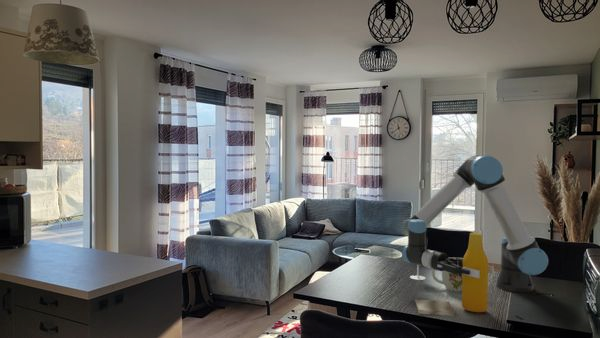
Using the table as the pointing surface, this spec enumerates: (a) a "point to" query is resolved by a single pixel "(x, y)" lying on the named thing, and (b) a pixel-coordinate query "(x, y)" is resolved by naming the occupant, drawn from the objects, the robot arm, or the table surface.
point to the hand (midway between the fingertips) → (486, 272)
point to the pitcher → (450, 279)
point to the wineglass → (418, 269)
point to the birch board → (434, 307)
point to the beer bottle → (472, 286)
